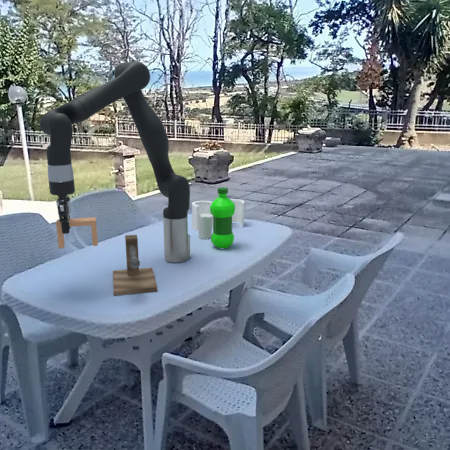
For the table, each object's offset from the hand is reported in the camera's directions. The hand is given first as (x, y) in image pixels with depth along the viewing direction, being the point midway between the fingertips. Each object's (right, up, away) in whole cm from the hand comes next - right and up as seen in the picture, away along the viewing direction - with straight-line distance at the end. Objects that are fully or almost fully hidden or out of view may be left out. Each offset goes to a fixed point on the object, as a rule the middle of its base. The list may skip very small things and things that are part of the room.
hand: (66, 230), depth 153 cm
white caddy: (+48, +1, +76) cm, 89 cm away
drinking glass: (+42, -4, +60) cm, 73 cm away
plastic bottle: (+50, -7, +47) cm, 69 cm away
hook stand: (+20, -19, +9) cm, 29 cm away
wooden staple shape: (+3, -5, +2) cm, 6 cm away
